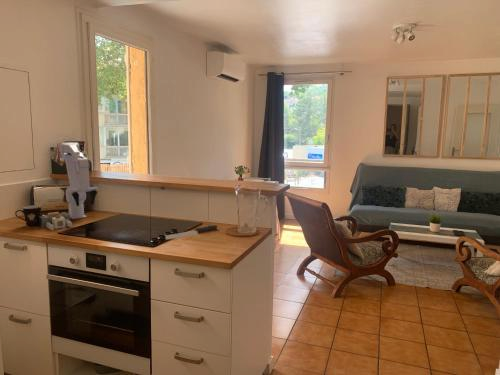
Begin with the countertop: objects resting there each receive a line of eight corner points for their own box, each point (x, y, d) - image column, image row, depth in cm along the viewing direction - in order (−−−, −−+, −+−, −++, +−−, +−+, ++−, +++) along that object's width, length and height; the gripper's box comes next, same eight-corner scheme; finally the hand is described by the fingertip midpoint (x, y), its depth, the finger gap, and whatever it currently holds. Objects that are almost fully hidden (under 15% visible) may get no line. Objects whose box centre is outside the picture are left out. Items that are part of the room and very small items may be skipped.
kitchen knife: (167, 239, 177) (163, 233, 181) (167, 243, 178) (162, 238, 181) (220, 228, 195) (215, 223, 198) (220, 232, 196) (214, 227, 199)
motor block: (39, 225, 203) (38, 214, 202) (66, 221, 213) (66, 210, 212) (42, 227, 199) (41, 216, 198) (70, 223, 208) (69, 212, 207)
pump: (52, 227, 201) (51, 215, 200) (62, 225, 204) (61, 214, 203) (55, 229, 197) (54, 217, 196) (66, 227, 200) (65, 216, 199)
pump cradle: (45, 227, 200) (44, 222, 200) (67, 223, 207) (67, 219, 207) (50, 230, 193) (49, 225, 193) (73, 226, 201) (73, 222, 201)
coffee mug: (46, 223, 208) (44, 205, 206) (35, 227, 199) (34, 208, 198) (26, 222, 209) (24, 205, 208) (15, 226, 201) (13, 208, 199)
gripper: (72, 182, 199) (73, 207, 201) (99, 179, 209) (101, 204, 211) (67, 181, 204) (69, 205, 206) (94, 178, 214) (96, 202, 216)
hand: (85, 205), depth 209 cm, fingers open, 7 cm apart
